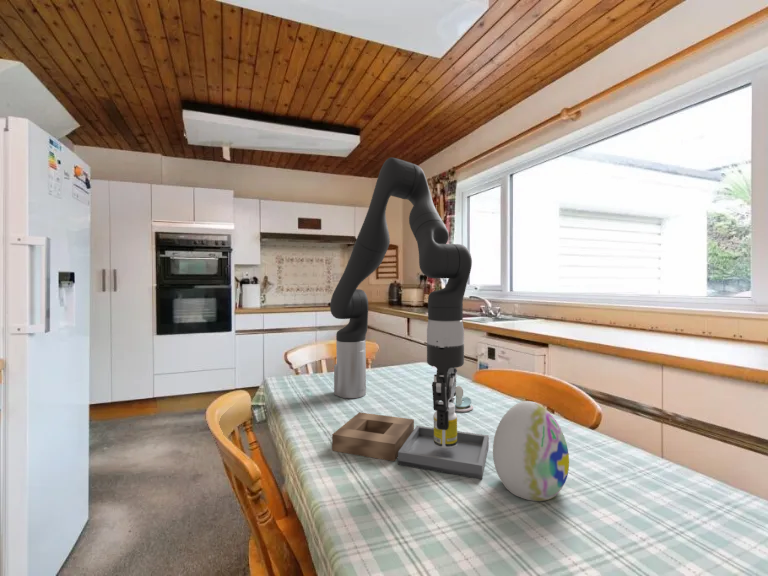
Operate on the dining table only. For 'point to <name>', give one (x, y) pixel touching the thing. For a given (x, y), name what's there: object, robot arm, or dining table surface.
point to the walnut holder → (373, 436)
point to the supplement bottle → (449, 436)
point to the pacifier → (459, 404)
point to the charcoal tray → (445, 453)
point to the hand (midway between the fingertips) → (445, 423)
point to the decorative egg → (530, 452)
